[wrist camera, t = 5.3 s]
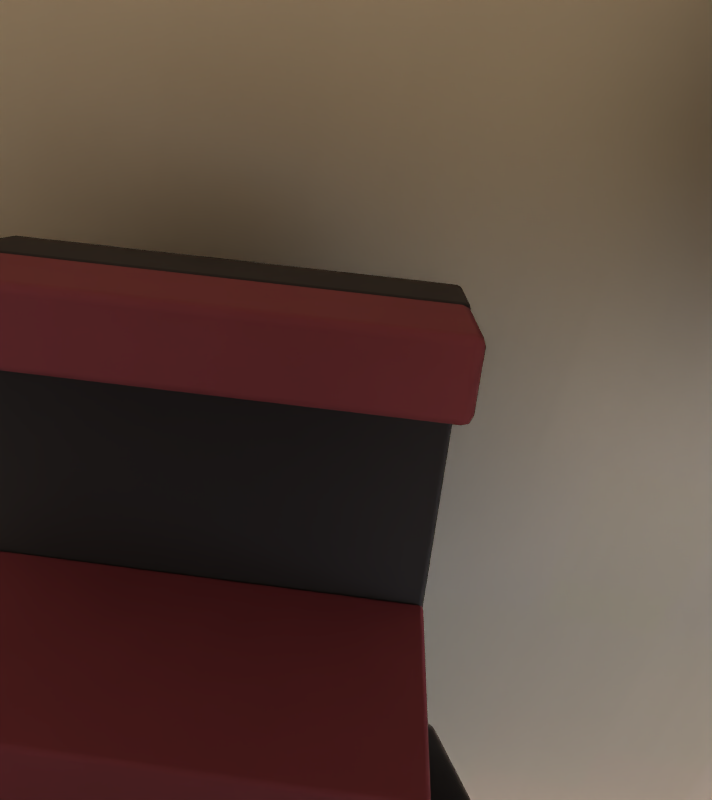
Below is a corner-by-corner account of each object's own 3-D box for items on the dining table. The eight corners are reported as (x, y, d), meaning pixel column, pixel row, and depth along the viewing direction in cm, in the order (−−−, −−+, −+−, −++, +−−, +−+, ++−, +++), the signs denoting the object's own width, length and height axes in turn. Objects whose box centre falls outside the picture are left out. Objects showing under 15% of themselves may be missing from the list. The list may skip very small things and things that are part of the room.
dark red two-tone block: (462, 284, 8) (514, 385, 4) (359, 948, 12) (338, 1294, 8) (13, 234, 8) (-326, 286, 4) (66, 905, 12) (-82, 1224, 8)
